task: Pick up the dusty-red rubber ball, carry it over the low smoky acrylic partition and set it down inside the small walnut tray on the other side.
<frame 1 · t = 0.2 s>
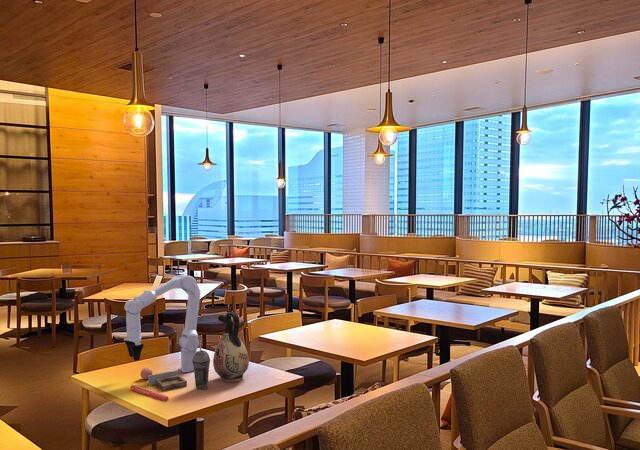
hand: (134, 358, 213), 10 cm above the table, tool pointing down, fingers open, 7 cm apart
tray: (171, 385, 206), on the table
ceramic jug: (232, 380, 212), on the table
ball: (146, 379, 215), on the table
pink long bar: (150, 395, 195), on the table
beverage cup: (201, 389, 201), on the table
partition: (163, 382, 210), on the table
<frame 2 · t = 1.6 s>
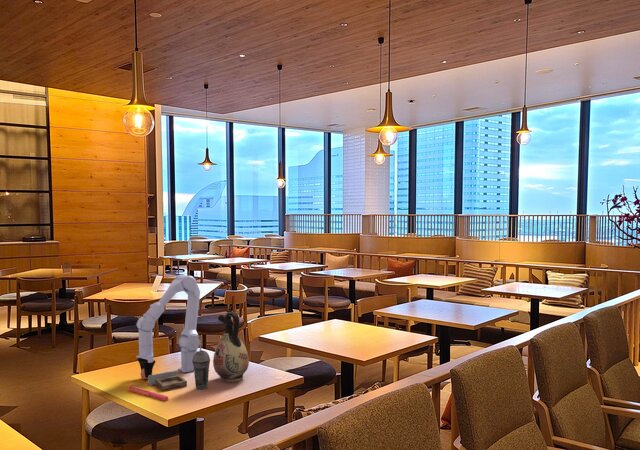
hand: (146, 375, 215), 2 cm above the table, tool pointing down, fingers closed on ball, 5 cm apart
ball: (146, 379, 215), on the table, touching gripper
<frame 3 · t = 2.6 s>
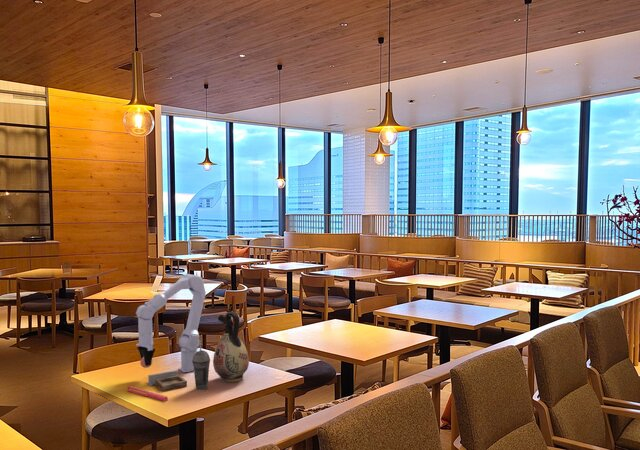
hand: (146, 363, 215), 7 cm above the table, tool pointing down, fingers closed on ball, 5 cm apart
ball: (146, 367, 215), point 5 cm above the table, touching gripper
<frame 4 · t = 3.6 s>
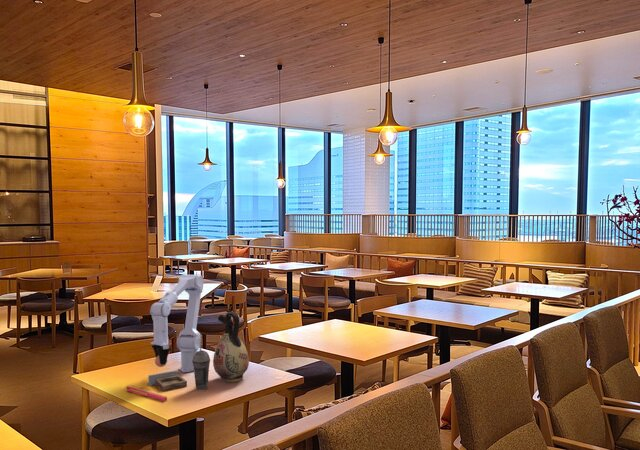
hand: (161, 362, 208), 9 cm above the table, tool pointing down, fingers closed on ball, 5 cm apart
ball: (161, 366, 208), point 7 cm above the table, touching gripper
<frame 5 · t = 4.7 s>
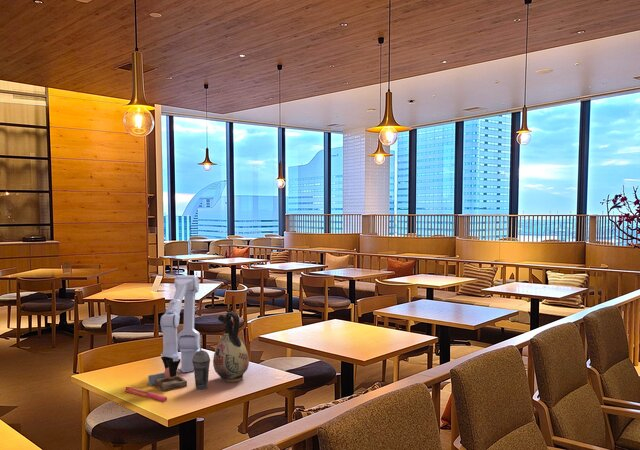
hand: (170, 374, 205), 5 cm above the table, tool pointing down, fingers closed on ball, 5 cm apart
ball: (170, 378, 205), point 3 cm above the table, touching gripper
when the fingers open (4 cm above the table, at t = 5.4 s): ball drops 1 cm, resting on tray.
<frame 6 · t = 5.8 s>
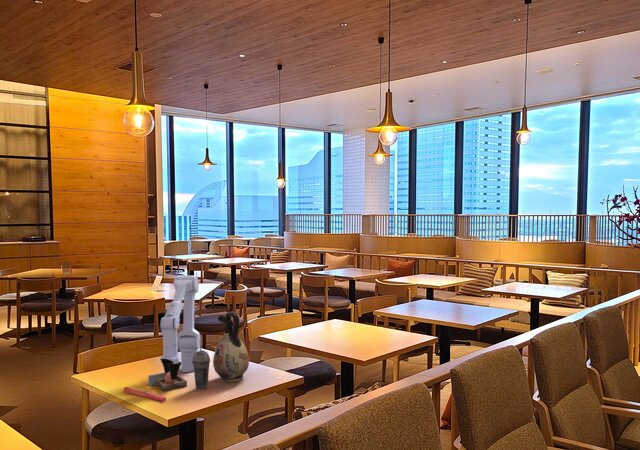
hand: (171, 377, 206), 4 cm above the table, tool pointing down, fingers open, 7 cm apart
ball: (170, 383, 205), point 1 cm above the table, touching tray
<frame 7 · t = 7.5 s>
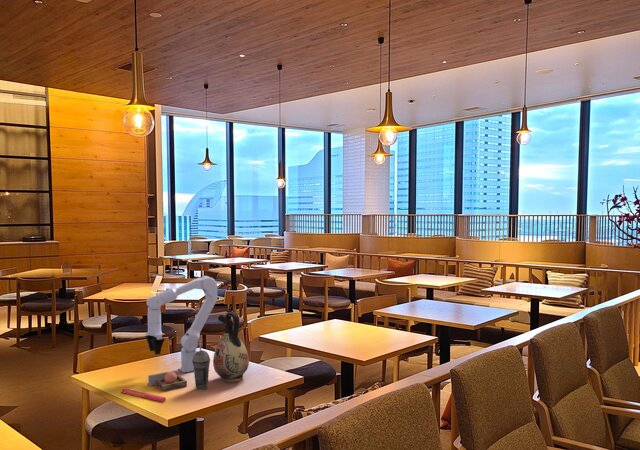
hand: (155, 352, 221), 10 cm above the table, tool pointing down, fingers open, 7 cm apart
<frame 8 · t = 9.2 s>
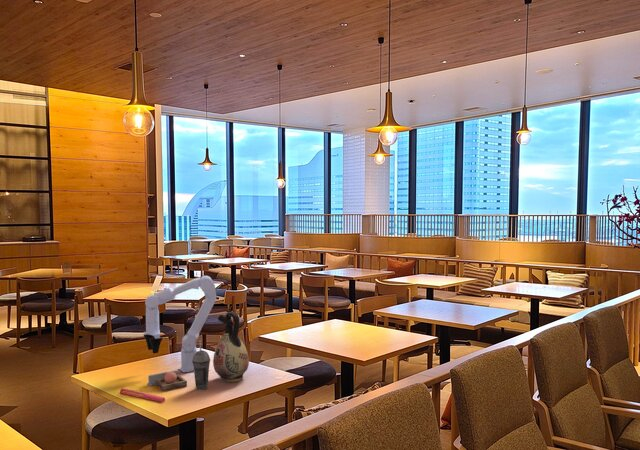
hand: (153, 351, 224), 10 cm above the table, tool pointing down, fingers open, 7 cm apart
at the end: ball inside the target area on the tray (0.2 cm from its centre), point 0.8 cm above the tray's base; the gripper is holding nothing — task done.
